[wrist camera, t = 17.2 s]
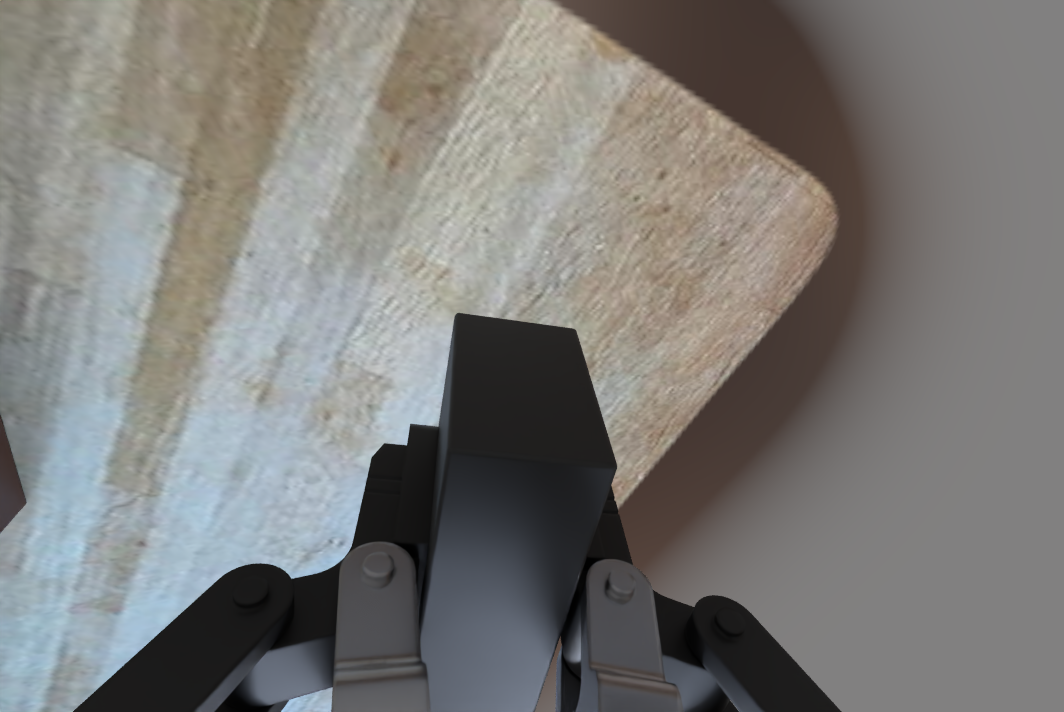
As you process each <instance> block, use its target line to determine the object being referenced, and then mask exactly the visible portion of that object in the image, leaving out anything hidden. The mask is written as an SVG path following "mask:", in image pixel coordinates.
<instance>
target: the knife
mask: <svg viewBox="0 0 1064 712" xmlns="http://www.w3.org/2000/svg"><path fill="white" fill-rule="evenodd" d="M616 469H617V463H616V460H615V457H614V454H613V450H612V447H611V444H610V440H609V437H608V434H607V431H606V427H605V424H604V421H603V417H602V414H601V411H600V407H599V404H598V401H597V398H596V394H595V391H594V388H593V384H592V381H591V378H590V375H589V371H588V368H587V365H586V361H585V358H584V355H583V352H582V348H581V345H580V342H579V338H578V335H577V332H576V330H575V329H572V328H565V327H557V326H550V325H543V324H536V323H528V322H521V321H514V320H507V319H499V318H492V317H485V316H478V315H470V314H463V313H457V314H456V315H455V318H454V325H453V332H452V338H451V345H450V352H449V359H448V366H447V372H446V379H445V386H444V393H443V400H442V406H441V413H440V420H439V432H438V444H437V456H436V467H435V479H434V491H433V502H432V514H431V526H430V537H429V547H428V553H427V560H426V566H425V573H424V579H423V585H422V592H421V598H420V604H419V611H418V615H419V629H420V644H421V656H422V662H425V663H426V666H427V671H428V680H429V693H430V706H431V712H535V709H536V706H537V703H538V700H539V697H540V694H541V691H542V688H543V685H544V682H545V679H546V676H547V673H548V671H549V668H550V664H551V662H552V659H553V656H554V653H555V650H556V647H557V644H558V641H559V638H560V635H561V632H562V629H563V626H564V623H565V620H566V617H567V614H568V611H569V608H570V605H571V603H572V600H573V597H574V594H575V591H576V588H577V585H578V582H579V579H580V576H581V573H582V570H583V567H584V564H585V561H586V558H587V555H588V552H589V549H590V546H591V543H592V540H593V537H594V535H595V532H596V529H597V526H598V523H599V520H600V517H601V514H602V511H603V508H604V505H605V502H606V499H607V496H608V493H609V490H610V487H611V484H612V481H613V478H614V475H615V472H616Z"/></svg>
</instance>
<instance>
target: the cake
mask: <svg viewBox="0 0 1064 712" xmlns="http://www.w3.org/2000/svg"><path fill="white" fill-rule="evenodd" d="M25 504H26V500H25V496H24V493H23V490H22V486H21V483H20V480H19V476H18V473H17V470H16V466H15V463H14V460H13V456H12V453H11V450H10V446H9V443H8V440H7V436H6V433H5V430H4V426H3V423H2V420H1V416H0V533H1V532H2V531H3V530H4V528H5V527H6V526H7V525H8V524H9V523H10V522H11V520H12V519H13V518H14V517H15V516H16V515H17V514H18V512H19V511H20V510H21V509H22V508H23V507H24V506H25Z"/></svg>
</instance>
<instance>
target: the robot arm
mask: <svg viewBox="0 0 1064 712" xmlns="http://www.w3.org/2000/svg"><path fill="white" fill-rule="evenodd" d="M438 432H439V427H435V426H426V425H417V424H410V430H409V437H408V443H407V446H406V445H396V444H386V443H384V444H383V446H382V447H381V448H380V449H379V450H378V451H377V452H376V453H375V454H374V456H373V457H372V459H371V463H370V468H369V472H368V478H367V481H366V486H365V492H364V495H363V499H362V504H361V508H360V513H359V517H358V522H357V526H356V531H355V535H354V540H353V544H352V547H351V549H350V551H349V552H348V554H347V555H346V556H345V558H344V559H343V560H341V561H340V562H339V563H338V564H336V565H335V566H334V567H332V568H330V569H328V570H326V571H323V572H321V573H317V574H313V575H308V576H303V577H299V578H294V579H291V578H290V576H289V575H288V574H287V573H286V572H285V571H284V570H282V569H281V568H279V567H276V566H274V565H269V564H261V563H260V564H249V565H245V566H241V567H238V568H236V569H234V570H231V571H230V572H228V573H226V574H225V575H224V576H222V577H221V578H220V579H219V580H217V581H216V582H215V583H214V584H213V585H212V586H211V587H210V588H209V589H208V590H206V591H205V592H204V593H203V594H202V595H201V596H200V597H199V598H198V599H196V600H195V601H194V602H193V603H192V604H191V605H190V606H189V607H188V608H187V609H185V610H184V611H183V612H182V613H181V614H180V615H179V616H178V617H177V618H176V619H174V620H173V621H172V622H171V623H170V624H169V625H168V626H167V627H166V628H165V629H163V630H162V631H161V632H160V633H159V634H158V635H157V636H156V637H155V638H154V639H152V640H151V641H150V642H149V643H148V644H147V645H146V646H145V647H144V648H142V649H141V650H140V651H139V652H138V653H137V654H136V655H135V656H134V657H133V658H131V659H130V660H129V661H128V662H127V663H126V664H125V665H124V666H123V667H122V668H120V669H119V670H118V671H117V672H116V673H115V674H114V675H113V676H112V677H111V678H109V679H108V680H107V681H106V682H105V683H104V684H103V685H102V686H101V687H100V688H98V689H97V690H96V691H95V692H94V693H93V694H92V695H91V696H90V697H88V698H87V699H86V700H85V701H84V702H83V703H82V704H81V705H80V706H79V707H77V708H76V709H75V710H74V711H73V712H281V710H282V709H283V708H284V707H285V705H286V704H287V702H288V701H289V699H293V698H296V697H300V696H303V695H307V694H310V693H314V692H317V691H320V690H324V689H327V688H331V687H333V692H332V710H331V712H431V706H430V693H429V680H428V671H427V666H426V663H425V662H422V656H421V644H420V629H419V615H418V611H419V604H420V598H421V592H422V585H423V579H424V573H425V566H426V560H427V553H428V547H429V537H430V526H431V514H432V502H433V491H434V479H435V467H436V456H437V444H438ZM614 498H615V497H614V494H613V490H612V486H611V487H610V490H609V493H608V496H607V499H606V502H605V505H604V508H603V511H602V514H601V517H600V520H599V523H598V526H597V529H596V532H595V535H594V537H593V540H592V543H591V546H590V549H589V552H588V555H587V558H586V561H585V564H584V567H583V570H582V573H581V576H580V579H579V582H578V585H577V588H576V591H575V594H574V597H573V600H572V603H571V605H570V608H569V611H568V614H567V617H566V620H565V623H564V626H563V629H562V632H561V643H562V646H561V649H560V652H559V655H558V658H557V672H556V712H739V711H740V712H841V711H840V710H839V709H838V708H837V706H836V705H835V704H834V703H833V702H832V701H831V700H830V699H829V698H828V697H827V695H826V694H825V693H824V692H823V691H822V690H821V689H820V688H819V687H818V686H817V685H816V684H815V683H814V681H813V680H812V679H811V678H810V677H809V676H808V675H807V674H806V673H805V672H804V670H802V668H801V667H800V666H799V665H798V664H797V663H796V662H795V661H794V660H793V659H792V657H791V656H790V655H789V654H788V653H787V652H786V651H785V650H784V649H783V648H782V647H781V645H779V643H778V642H777V641H776V640H775V639H774V638H773V637H772V636H771V635H770V634H769V633H768V631H767V630H766V629H765V628H764V627H763V626H762V625H761V624H760V623H759V622H758V620H757V619H756V618H755V617H754V616H753V615H752V614H751V613H750V612H749V611H748V610H747V609H745V608H744V607H743V606H742V605H740V604H739V603H737V602H735V601H733V600H731V599H729V598H726V597H723V596H715V595H712V596H706V597H703V598H702V599H700V600H699V601H698V602H697V603H696V605H695V607H692V606H689V605H686V604H683V603H681V602H678V601H675V600H672V599H670V598H667V597H664V596H662V595H660V594H658V593H657V592H655V591H654V590H653V589H652V586H651V584H650V582H649V580H648V579H647V577H646V576H645V575H644V574H643V573H642V572H641V571H640V570H639V569H637V568H636V567H635V566H633V563H632V560H631V556H630V552H629V549H628V545H627V541H626V538H625V534H624V531H623V527H622V523H621V520H620V516H619V515H618V508H617V505H616V501H614ZM730 700H731V701H732V702H733V703H732V702H731V701H730ZM733 704H734V705H735V706H736V707H737V708H736V707H735V706H734V705H733ZM737 709H738V710H739V711H738V710H737Z"/></svg>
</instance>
